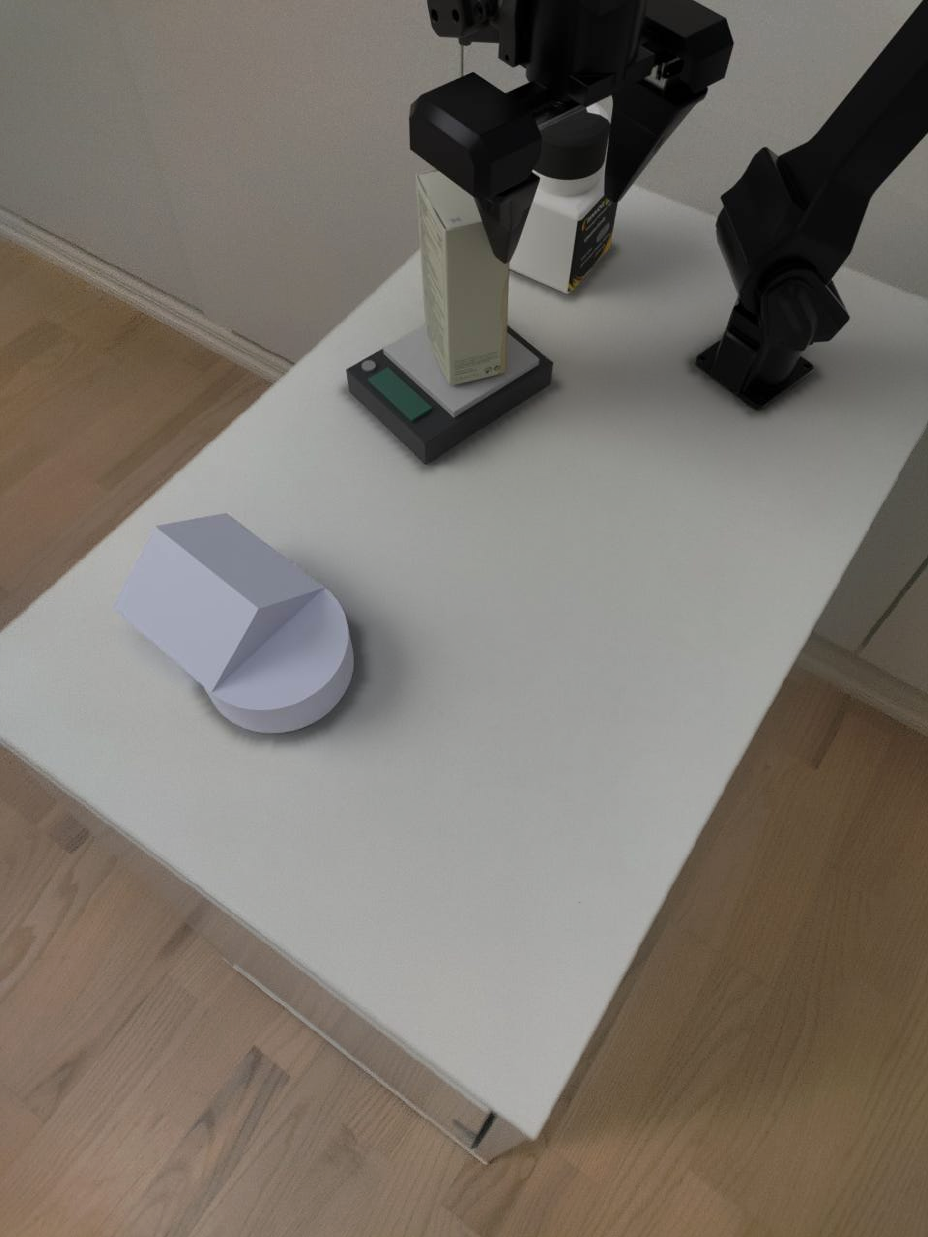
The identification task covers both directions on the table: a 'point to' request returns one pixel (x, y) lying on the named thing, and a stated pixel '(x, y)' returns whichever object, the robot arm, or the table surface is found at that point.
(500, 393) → the kitchen scale
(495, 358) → the cosmetic box
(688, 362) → the table surface
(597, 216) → the medicine bottle
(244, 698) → the wedge on round base
